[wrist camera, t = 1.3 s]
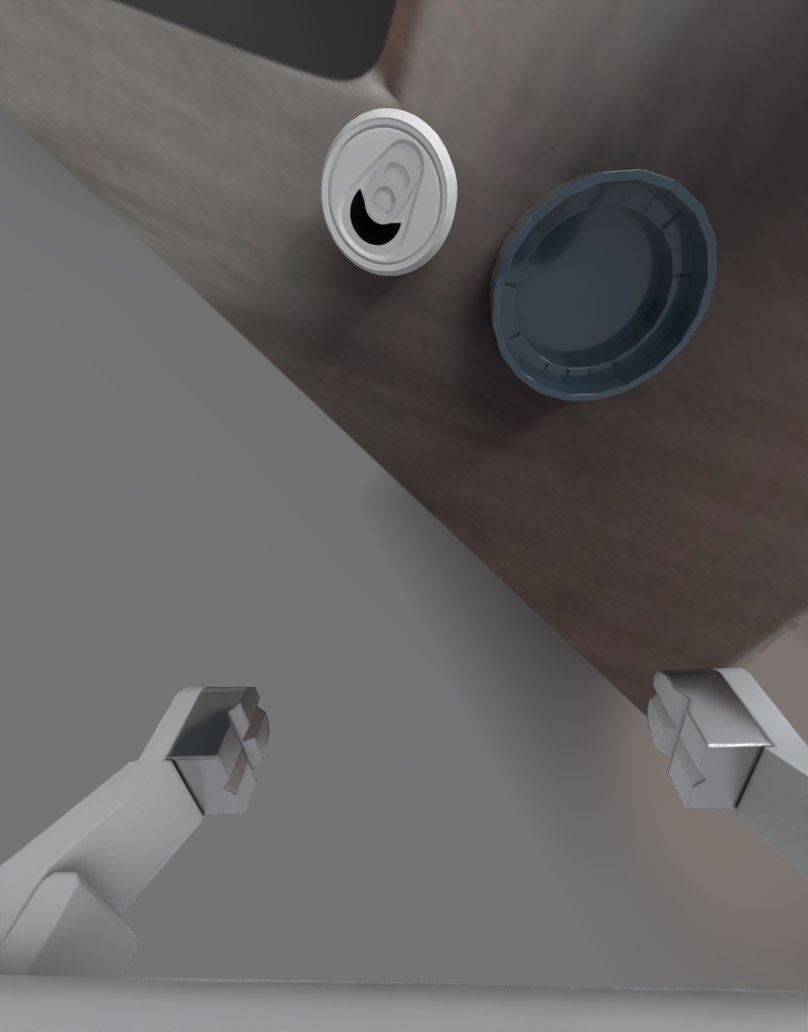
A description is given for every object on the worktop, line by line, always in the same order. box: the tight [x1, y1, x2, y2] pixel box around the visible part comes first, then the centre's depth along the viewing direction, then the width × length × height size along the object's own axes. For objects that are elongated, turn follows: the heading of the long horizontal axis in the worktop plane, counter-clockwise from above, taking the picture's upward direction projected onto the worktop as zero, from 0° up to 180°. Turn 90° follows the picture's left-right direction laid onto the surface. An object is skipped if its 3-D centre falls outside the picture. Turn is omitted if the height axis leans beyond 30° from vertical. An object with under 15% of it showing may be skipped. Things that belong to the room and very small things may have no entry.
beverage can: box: [320, 108, 457, 276], centre depth 25 cm, size 6×6×12 cm
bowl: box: [489, 169, 717, 401], centre depth 30 cm, size 13×13×4 cm
